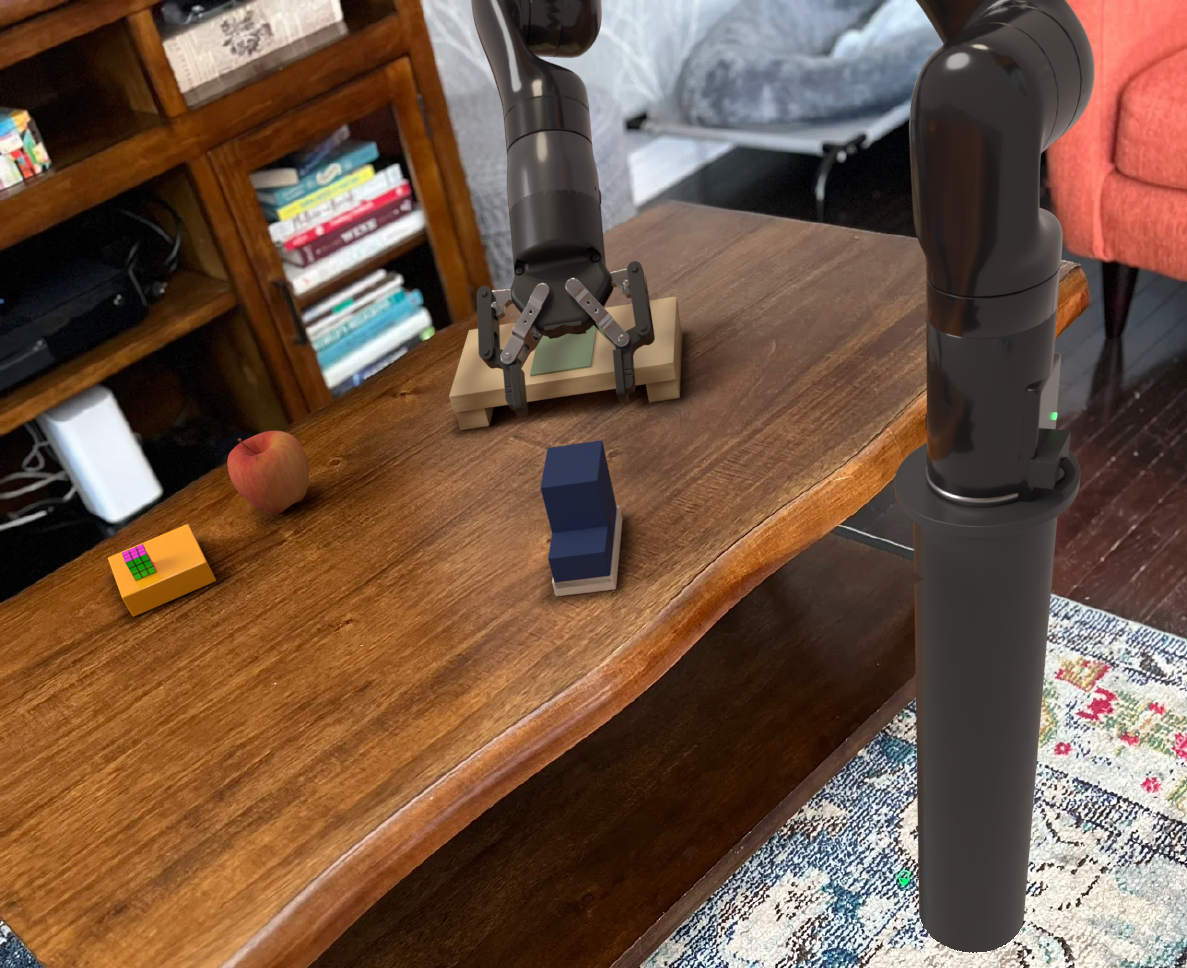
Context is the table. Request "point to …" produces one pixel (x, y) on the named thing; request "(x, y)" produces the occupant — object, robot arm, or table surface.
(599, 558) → the trainer
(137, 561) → the orange rectangular box
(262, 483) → the apple
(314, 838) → the table surface
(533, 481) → the table surface
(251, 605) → the table surface
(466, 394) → the shoe shelf
